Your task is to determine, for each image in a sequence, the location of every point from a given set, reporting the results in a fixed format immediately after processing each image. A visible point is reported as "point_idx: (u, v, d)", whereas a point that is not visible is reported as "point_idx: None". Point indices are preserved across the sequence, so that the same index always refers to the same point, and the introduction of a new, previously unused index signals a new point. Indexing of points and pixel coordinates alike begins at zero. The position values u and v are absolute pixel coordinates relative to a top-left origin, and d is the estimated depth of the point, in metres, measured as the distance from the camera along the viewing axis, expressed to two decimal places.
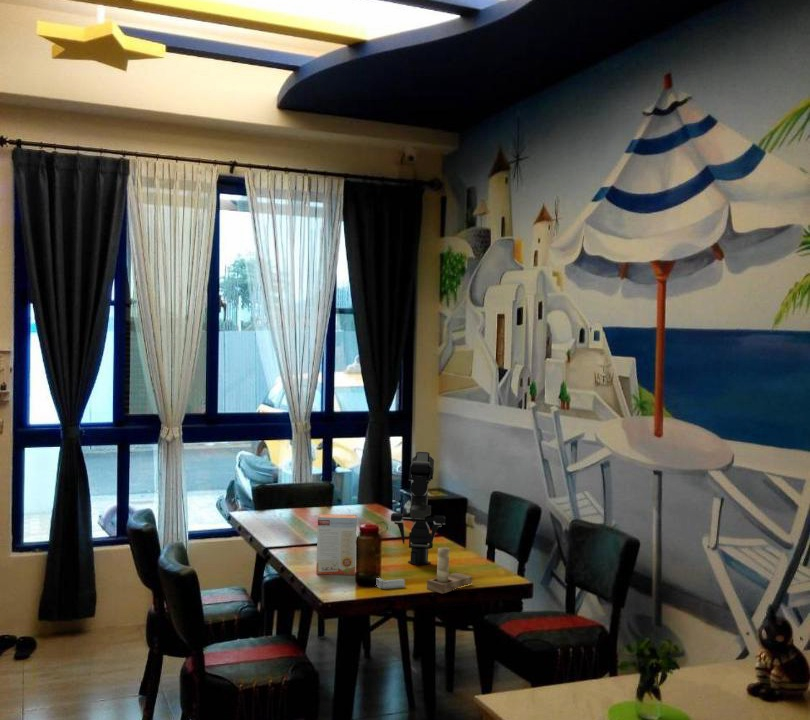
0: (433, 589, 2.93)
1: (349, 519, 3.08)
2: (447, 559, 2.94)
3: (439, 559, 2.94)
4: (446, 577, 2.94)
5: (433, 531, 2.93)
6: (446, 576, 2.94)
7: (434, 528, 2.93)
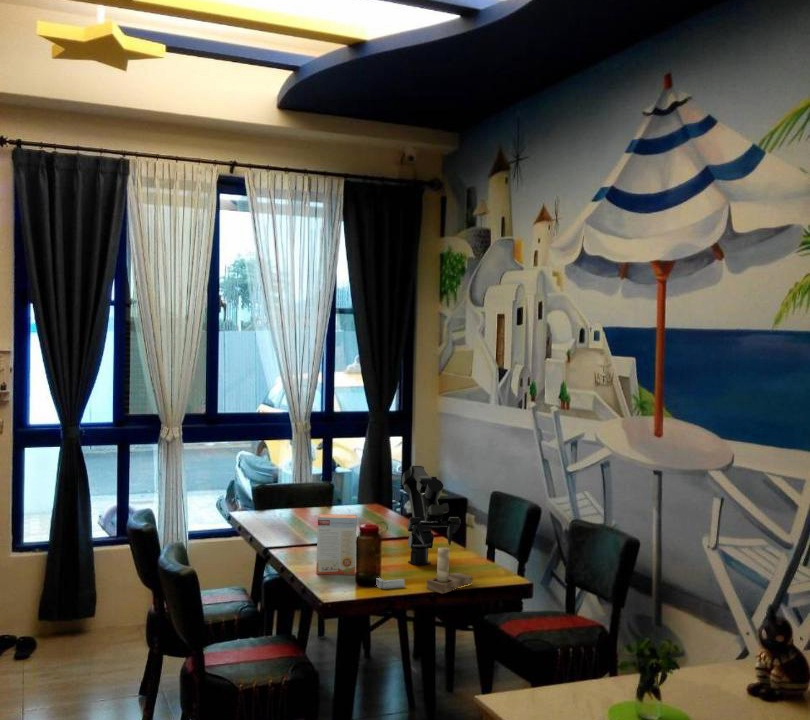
0: (433, 589, 2.93)
1: (349, 519, 3.08)
2: (447, 559, 2.94)
3: (439, 559, 2.94)
4: (446, 577, 2.94)
5: (450, 531, 3.06)
6: (446, 576, 2.94)
7: (451, 528, 3.07)
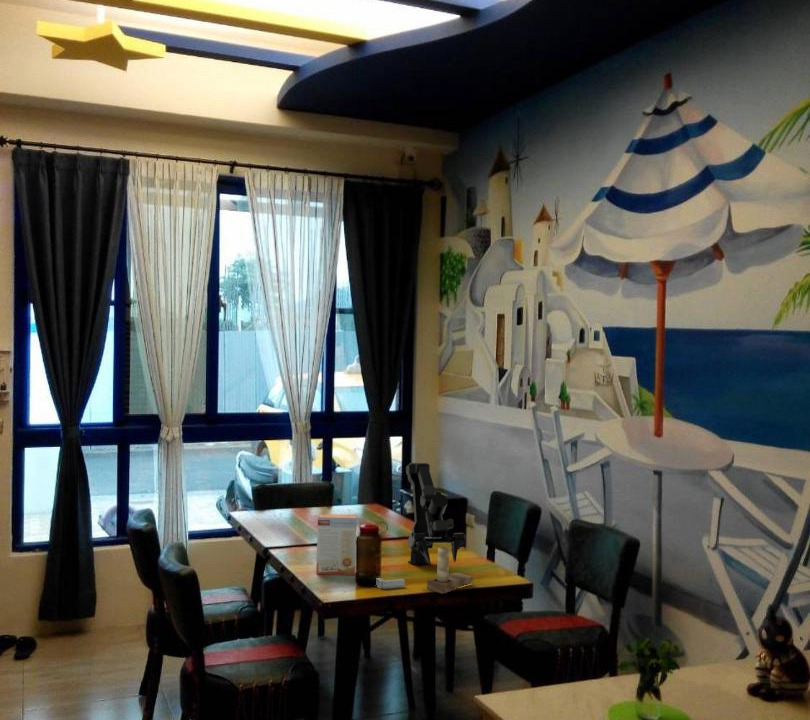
0: (433, 589, 2.93)
1: (349, 519, 3.08)
2: (447, 559, 2.94)
3: (439, 559, 2.94)
4: (446, 577, 2.94)
5: (455, 547, 3.00)
6: (446, 576, 2.94)
7: (456, 544, 3.00)
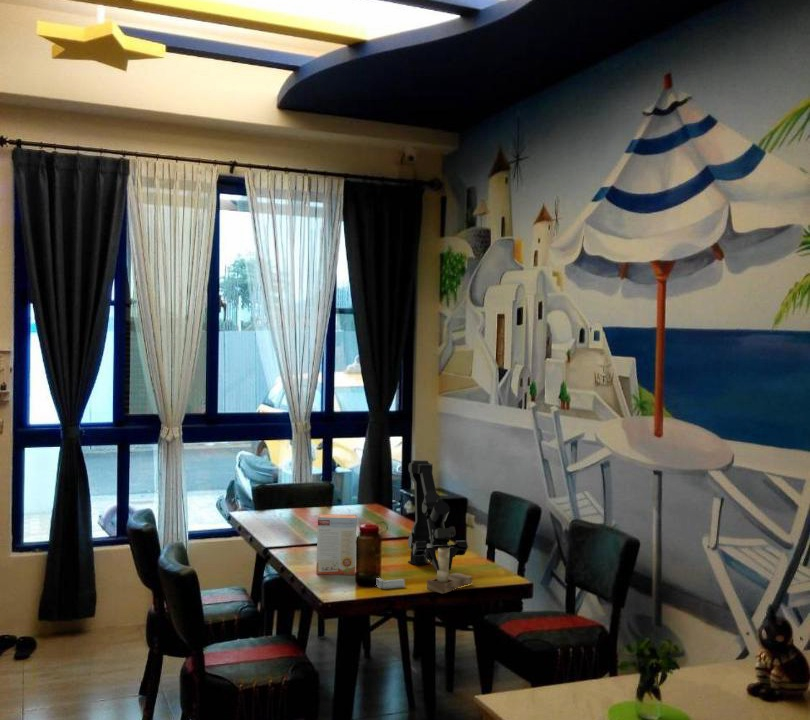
0: (433, 589, 2.93)
1: (349, 519, 3.08)
2: (447, 559, 2.94)
3: (439, 559, 2.94)
4: (446, 577, 2.94)
5: (451, 555, 2.97)
6: (446, 576, 2.94)
7: (451, 552, 2.97)
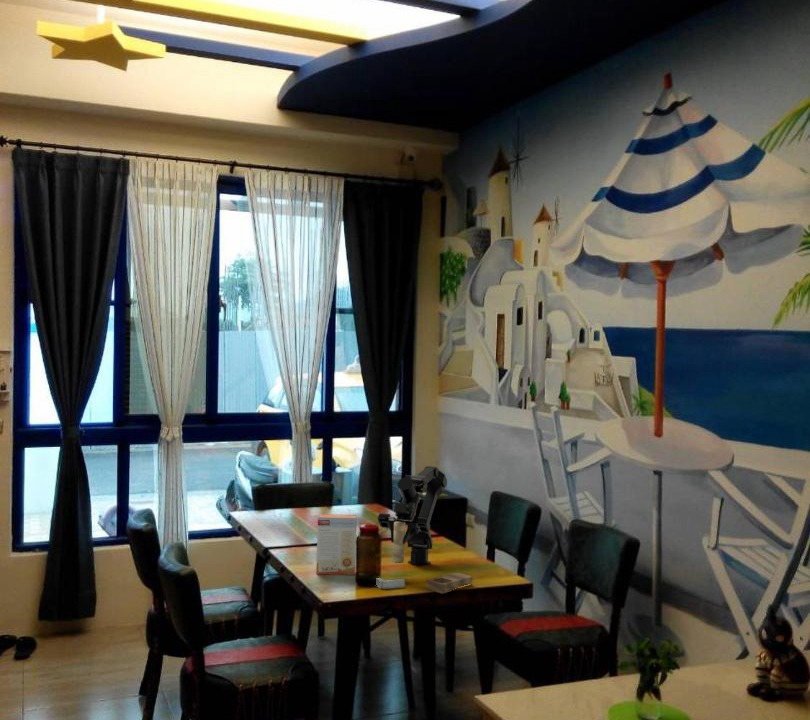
0: (433, 589, 2.93)
1: (349, 519, 3.08)
2: (400, 533, 3.03)
3: None
4: (399, 550, 3.03)
5: (408, 530, 3.05)
6: (399, 549, 3.03)
7: (409, 527, 3.05)
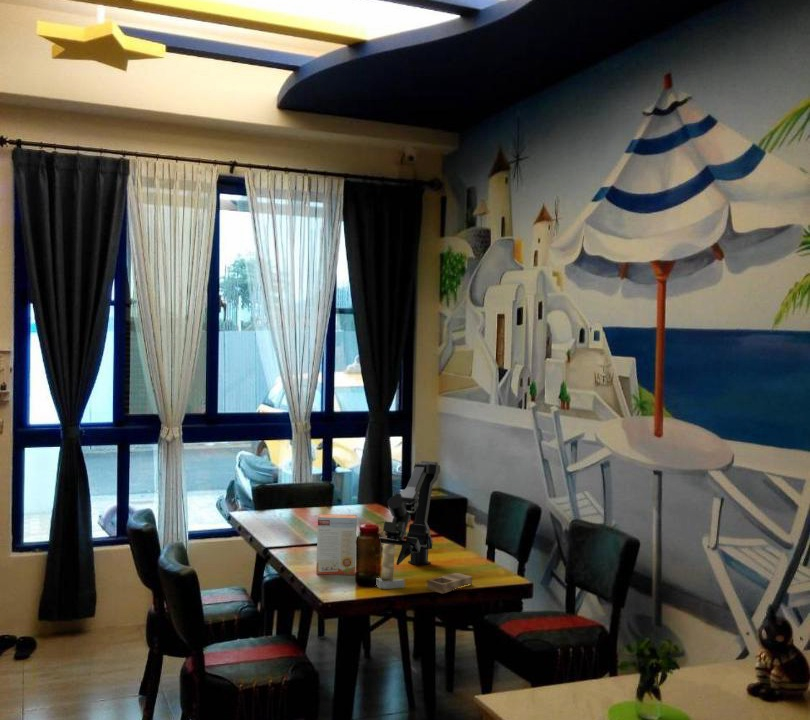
0: (433, 589, 2.93)
1: (349, 519, 3.08)
2: (389, 555, 2.95)
3: None
4: (388, 573, 2.95)
5: (402, 551, 2.96)
6: (388, 572, 2.95)
7: (403, 548, 2.97)
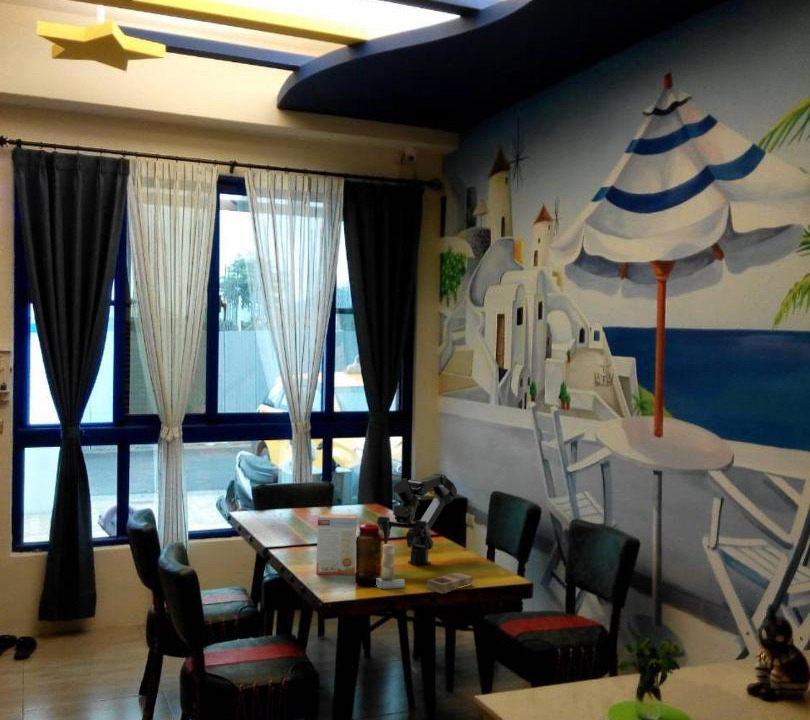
0: (433, 589, 2.93)
1: (349, 519, 3.08)
2: (389, 555, 2.95)
3: None
4: (388, 573, 2.95)
5: (413, 534, 3.08)
6: (388, 572, 2.95)
7: (414, 531, 3.08)
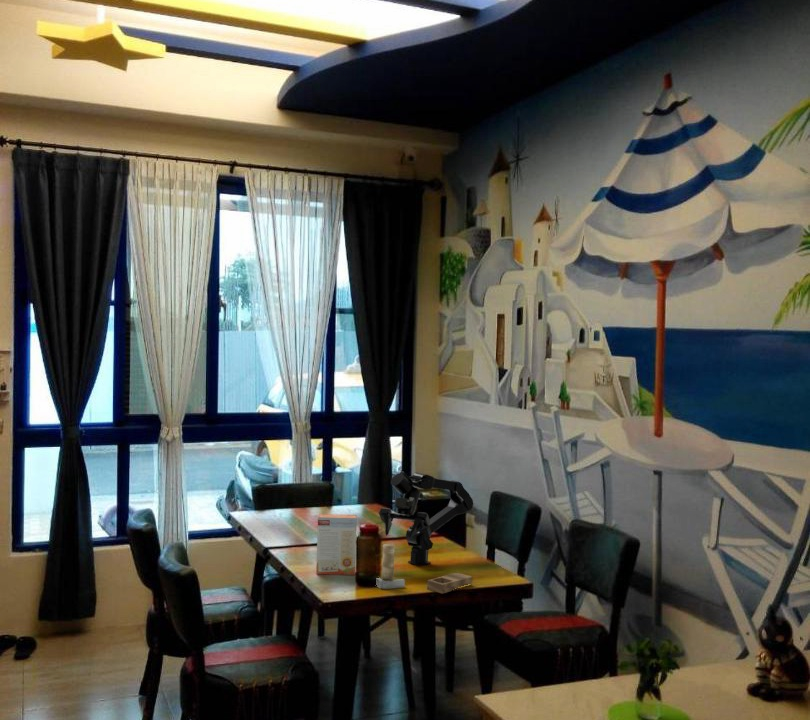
0: (433, 589, 2.93)
1: (349, 519, 3.08)
2: (389, 555, 2.95)
3: None
4: (388, 573, 2.95)
5: (414, 525, 3.13)
6: (388, 572, 2.95)
7: (415, 522, 3.13)
